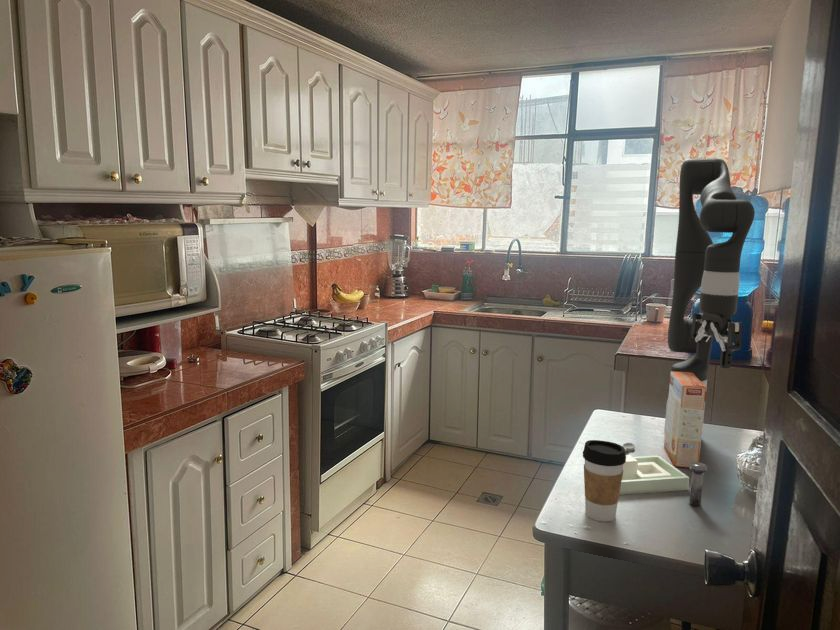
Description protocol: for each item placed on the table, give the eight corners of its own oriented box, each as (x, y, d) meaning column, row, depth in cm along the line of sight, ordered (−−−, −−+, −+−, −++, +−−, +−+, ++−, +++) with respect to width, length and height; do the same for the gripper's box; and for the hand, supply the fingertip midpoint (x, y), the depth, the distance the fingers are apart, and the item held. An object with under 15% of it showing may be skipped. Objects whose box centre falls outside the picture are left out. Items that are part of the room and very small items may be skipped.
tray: (590, 471, 147) (590, 459, 146) (657, 467, 150) (658, 455, 149) (615, 495, 134) (616, 482, 134) (688, 490, 137) (689, 477, 137)
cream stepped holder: (652, 469, 147) (654, 449, 146) (670, 483, 139) (672, 462, 138) (604, 473, 144) (605, 452, 143) (620, 487, 137) (621, 465, 136)
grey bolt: (683, 502, 132) (687, 462, 130) (697, 500, 132) (700, 461, 131) (692, 509, 128) (696, 468, 127) (706, 508, 129) (710, 467, 127)
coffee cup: (575, 504, 130) (579, 437, 127) (615, 505, 130) (619, 438, 127) (584, 524, 122) (588, 453, 119) (627, 525, 121) (632, 454, 119)
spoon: (636, 449, 162) (636, 442, 161) (621, 466, 152) (621, 459, 152) (625, 446, 163) (625, 439, 163) (609, 463, 154) (610, 456, 153)
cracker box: (700, 469, 148) (708, 386, 145) (673, 467, 149) (680, 384, 146) (687, 448, 162) (694, 371, 158) (663, 446, 163) (669, 370, 159)
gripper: (757, 295, 129) (749, 370, 131) (714, 287, 143) (707, 355, 145) (725, 296, 127) (717, 371, 130) (684, 287, 141) (679, 356, 144)
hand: (712, 362), depth 138 cm, fingers open, 8 cm apart
